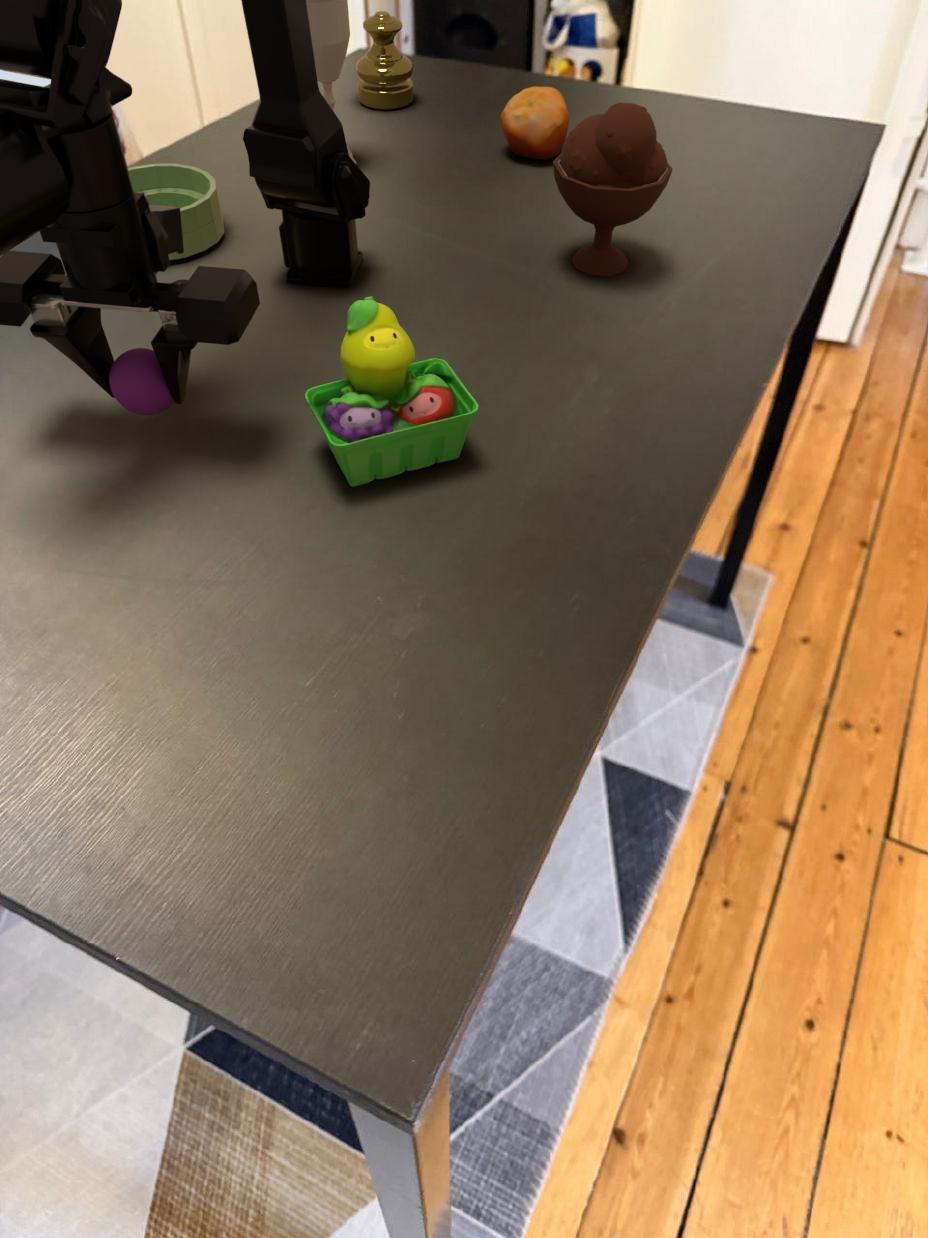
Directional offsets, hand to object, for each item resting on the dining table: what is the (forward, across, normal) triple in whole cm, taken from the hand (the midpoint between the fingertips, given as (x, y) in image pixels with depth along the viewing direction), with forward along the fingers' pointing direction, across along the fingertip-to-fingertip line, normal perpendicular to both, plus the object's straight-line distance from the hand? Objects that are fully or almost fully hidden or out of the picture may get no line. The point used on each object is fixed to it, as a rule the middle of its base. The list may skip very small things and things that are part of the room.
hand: (149, 397), depth 69 cm
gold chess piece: (+3, -4, -73) cm, 73 cm away
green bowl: (+3, +11, -31) cm, 33 cm away
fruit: (+3, -25, -59) cm, 64 cm away
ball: (-1, 0, 0) cm, 1 cm away
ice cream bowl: (+3, -34, -33) cm, 47 cm away
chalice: (+3, -2, -52) cm, 52 cm away
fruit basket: (+3, -19, 0) cm, 19 cm away
